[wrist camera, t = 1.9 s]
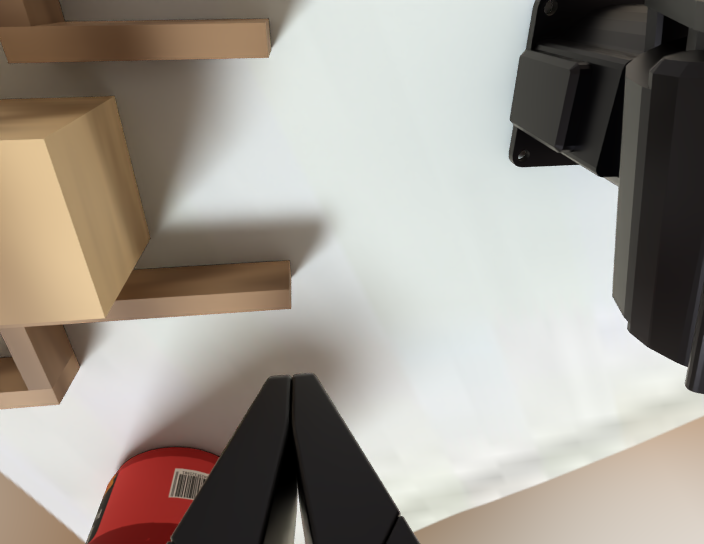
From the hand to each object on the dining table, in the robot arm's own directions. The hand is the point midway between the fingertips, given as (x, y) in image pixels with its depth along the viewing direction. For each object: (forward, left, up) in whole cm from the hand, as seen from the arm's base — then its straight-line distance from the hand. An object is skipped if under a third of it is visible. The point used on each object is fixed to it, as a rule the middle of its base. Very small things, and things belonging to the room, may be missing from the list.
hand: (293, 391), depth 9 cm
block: (+9, 0, -13) cm, 16 cm away
